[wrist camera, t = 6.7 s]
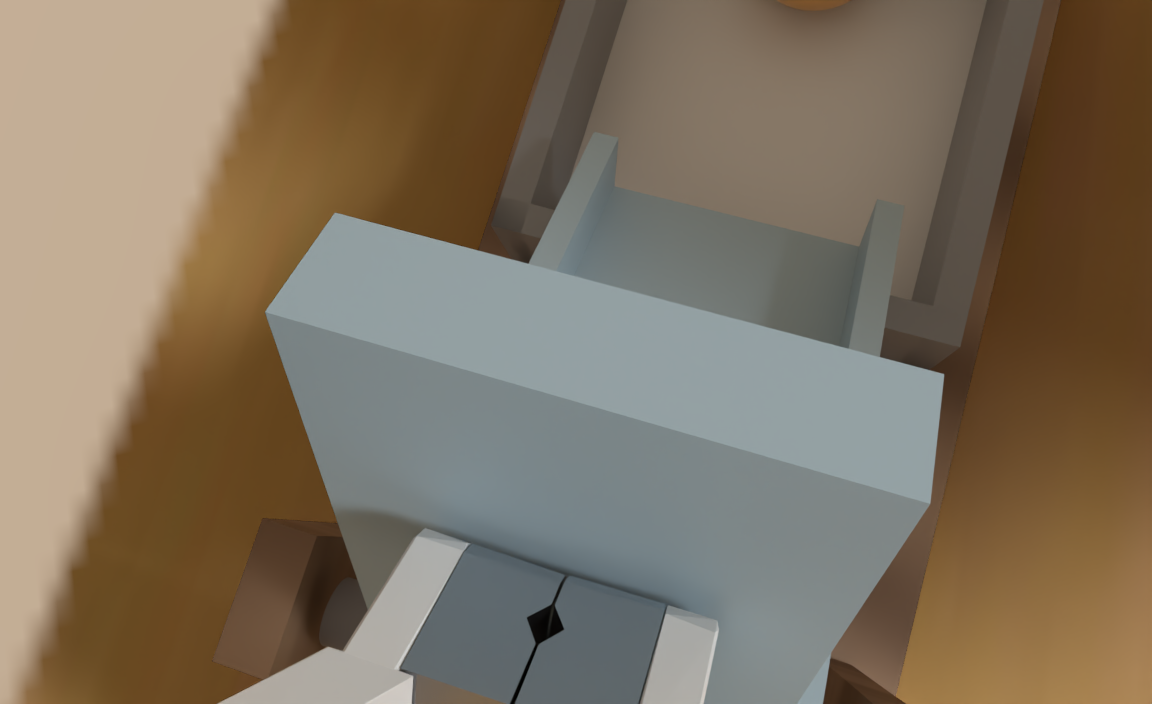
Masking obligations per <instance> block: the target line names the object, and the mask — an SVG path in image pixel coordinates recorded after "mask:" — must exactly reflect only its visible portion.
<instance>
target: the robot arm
mask: <svg viewBox="0 0 1152 704" xmlns="http://www.w3.org/2000/svg"><path fill="white" fill-rule="evenodd" d="M665 608H666V604H664V603H661V602H658V601H654V600H651V599H648V598H644V597H641V596H638V595H634V594H631V593H628V592H624V591H621V590H618V589H614V588H611V587H608V586H605V585H601V584H598V583H595V582H591V581H588V580H585V579H581V578H578V577H575V576H571V575H570V576H569V577H568V578H567V577H566V575H564V574H561V573H558V572H555V571H552V570H549V569H546V568H544V567H541V566H538V565H535V564H532V563H529V562H526V561H523V560H520V559H517V558H514V557H511V556H509V555H506V554H503V553H500V552H497V551H494V550H491V549H488V548H485V547H482V546H479V545H476V544H474V543H472V544H471V543H468V542H465V541H463V540H460V539H457V538H454V537H451V536H448V535H445V534H442V533H439V532H436V531H433V530H430V529H427V528H425V529H423V530H422V531H421V532H420V533H419V534H418V535H416V536H415V537H414V538H413V539H412V541H411V542H410V544H409V546H408V547H407V549H406V550H405V552H404V554H403V555H402V557H401V558H400V560H399V562H398V563H397V565H396V566H395V568H394V569H393V571H392V573H391V574H390V576H389V577H388V579H387V581H386V582H385V584H384V585H383V587H382V589H381V590H380V592H379V593H378V595H377V596H376V598H375V600H374V601H373V603H372V604H371V606H370V608H369V609H368V611H367V612H366V614H365V616H364V617H363V619H362V620H361V622H360V623H359V625H358V627H357V628H356V630H355V631H354V633H353V635H352V636H351V638H350V639H349V641H348V643H347V644H346V646H345V647H344V649H343V651H341V650H338V649H335V648H332V647H326V648H324V649H322V650H320V651H318V652H316V653H314V654H312V655H310V656H308V657H306V658H304V659H303V660H301V661H299V662H297V663H295V664H293V665H291V666H289V667H287V668H285V669H283V670H281V671H279V672H277V673H275V674H273V675H272V676H270V677H268V678H266V679H264V680H262V681H260V682H258V683H256V684H254V685H252V686H250V687H248V688H246V689H244V690H242V691H240V692H239V693H237V694H235V695H233V696H231V697H229V698H227V699H225V700H223V701H221V702H219V703H217V704H704V699H705V694H706V690H707V685H708V680H709V675H710V670H711V665H712V661H713V656H714V651H715V646H716V641H717V637H718V632H719V627H718V621H717V620H714V619H711V618H708V617H705V616H702V615H698V614H695V613H692V612H689V611H685V610H682V609H679V608H676V607H672V606H669V605H668V606H667V608H666V610H665ZM664 612H665V614H664ZM663 616H664V617H663ZM662 620H663V621H662ZM661 623H662V625H661ZM660 627H661V628H660ZM659 631H660V632H659ZM657 638H658V639H657ZM656 642H657V643H656ZM654 649H655V650H654ZM653 653H654V654H653ZM650 664H651V665H650ZM647 675H648V676H647Z"/></svg>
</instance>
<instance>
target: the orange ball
mask: <svg viewBox="0 0 1152 704" xmlns="http://www.w3.org/2000/svg"><path fill="white" fill-rule="evenodd" d="M777 1H778V2H780V3H782V4H784V5H786V6H789V7H792V8H795V9H799V10H805V11H821V10H828V9H832V8H835V7H838V6H841V5H843V4H846V3H847V2H849V1H851V0H777Z"/></svg>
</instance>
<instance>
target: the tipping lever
mask: <svg viewBox="0 0 1152 704" xmlns="http://www.w3.org/2000/svg"><path fill="white" fill-rule="evenodd" d="M618 139H619V138H618V137H614V136H610V135H605V134H601V133H597V132H594V133H593V135H592V137H591V139H590V141H589V143H588V145H587V147H586V149H585V151H584V153H583V155H582V157H581V159H580V161H579V163H578V165H577V167H576V169H575V171H574V173H573V175H572V177H571V179H570V181H569V183H568V185H567V187H566V189H565V191H564V193H563V195H562V197H561V199H560V201H559V203H558V205H557V207H556V209H555V211H554V213H553V215H552V217H551V219H550V221H549V223H548V225H547V227H546V229H545V231H544V234H543V236H542V238H541V240H540V242H539V244H538V246H537V248H536V250H535V252H534V254H533V256H532V258H531V260H530V262H529V264H527V263H523V262H519V261H516V260H512V259H508V258H504V257H501V256H497V255H493V254H489V253H485V252H482V251H478V250H474V249H470V248H467V247H463V246H459V245H455V244H452V243H448V242H444V241H440V240H436V239H433V238H429V237H425V236H421V235H418V234H414V233H410V232H406V231H403V230H399V229H395V228H391V227H387V226H384V225H380V224H376V223H372V222H369V221H365V220H361V219H357V218H354V217H350V216H346V215H342V214H338V213H334V215H333V216H332V218H331V219H330V220H329V222H328V223H327V225H326V226H325V227H324V229H323V230H322V232H321V233H320V235H319V236H318V237H317V239H316V240H315V242H314V243H313V244H312V246H311V247H310V249H309V250H308V252H307V253H306V254H305V256H304V257H303V259H302V260H301V262H300V263H299V264H298V266H297V267H296V269H295V270H294V271H293V273H292V274H291V276H290V277H289V279H288V280H287V281H286V283H285V284H284V286H283V287H282V288H281V290H280V291H279V293H278V294H277V296H276V297H275V298H274V300H273V301H272V303H271V304H270V305H269V307H268V308H267V310H266V311H265V314H266V317H267V320H268V322H269V325H270V328H271V331H272V334H273V337H274V340H275V343H276V346H277V348H278V351H279V354H280V357H281V360H282V363H283V366H284V369H285V372H286V375H287V377H288V380H289V383H290V386H291V389H292V392H293V395H294V398H295V401H296V403H297V406H298V409H299V412H300V415H301V418H302V421H303V424H304V427H305V429H306V432H307V435H308V438H309V441H310V444H311V447H312V450H313V453H314V456H315V458H316V461H317V464H318V467H319V470H320V473H321V476H322V479H323V482H324V484H325V487H326V490H327V493H328V496H329V499H330V502H331V505H332V508H333V510H334V513H335V516H336V519H337V522H338V525H339V528H340V531H341V534H342V536H343V539H344V542H345V545H346V548H347V551H348V554H349V557H350V560H351V563H352V565H353V568H354V571H355V574H356V577H357V580H356V579H353V578H350V577H347V578H345V579H343V580H342V581H341V582H340V583H339V585H338V586H337V587H336V589H335V590H334V592H333V594H332V596H331V597H330V600H329V602H328V604H327V606H326V609H325V611H324V614H323V617H322V621H321V625H320V631H319V640H320V644H321V645H322V646H325V647H332V648H335V649H338V650H341V651H343V649H344V647H345V646H346V644H347V643H348V641H349V639H350V638H351V636H352V635H353V633H354V631H355V630H356V628H357V627H358V625H359V623H360V622H361V620H362V619H363V617H364V616H365V614H366V612H367V611H368V609H369V608H370V606H371V604H372V603H373V601H374V600H375V598H376V596H377V595H378V593H379V592H380V590H381V589H382V587H383V585H384V584H385V582H386V581H387V579H388V577H389V576H390V574H391V573H392V571H393V569H394V568H395V566H396V565H397V563H398V562H399V560H400V558H401V557H402V555H403V554H404V552H405V550H406V549H407V547H408V546H409V544H410V542H411V541H412V539H413V538H414V537H415V536H416V535H418V534H419V533H420V532H421V531H422V530H423V529H425V528H427V529H430V530H433V531H436V532H439V533H442V534H445V535H448V536H451V537H454V538H457V539H460V540H463V541H465V542H468V543H471V544H472V543H474V544H476V545H479V546H482V547H485V548H488V549H491V550H494V551H497V552H500V553H503V554H506V555H509V556H511V557H514V558H517V559H520V560H523V561H526V562H529V563H532V564H535V565H538V566H541V567H544V568H546V569H549V570H552V571H555V572H558V573H561V574H564V575H566V577H567V578H568V577H569V576H570V575H571V576H575V577H578V578H581V579H585V580H588V581H591V582H595V583H598V584H601V585H605V586H608V587H611V588H614V589H618V590H621V591H624V592H628V593H631V594H634V595H638V596H641V597H644V598H648V599H651V600H654V601H658V602H661V603H664V604H666V608H667V606H668V605H669V606H672V607H676V608H679V609H682V610H685V611H689V612H692V613H695V614H698V615H702V616H705V617H708V618H711V619H714V620H717V621H718V627H719V632H718V637H717V641H716V646H715V651H714V656H713V661H712V665H711V670H710V675H709V680H708V685H707V690H706V694H705V699H704V704H823V700H824V694H825V688H826V682H827V676H828V669H829V663H830V657H831V652H832V651H833V649H834V648H835V646H836V645H837V643H838V642H839V640H840V639H841V637H842V636H843V634H844V633H845V631H846V630H847V628H848V627H849V625H850V624H851V622H852V621H853V619H854V618H855V616H856V615H857V613H858V612H859V610H860V609H861V607H862V606H863V604H864V603H865V601H866V600H867V598H868V597H869V595H870V594H871V592H872V591H873V589H874V588H875V586H876V585H877V583H878V582H879V580H880V579H881V577H882V576H883V574H884V573H885V571H886V570H887V568H888V567H889V565H890V564H891V562H892V561H893V559H894V558H895V556H896V555H897V553H898V552H899V550H900V549H901V547H902V546H903V544H904V543H905V541H906V540H907V538H908V537H909V535H910V534H911V532H912V531H913V529H914V528H915V526H916V525H917V523H918V522H919V520H920V519H921V517H922V516H923V514H924V513H925V511H926V510H927V508H928V507H929V505H930V502H931V493H932V483H933V474H934V465H935V456H936V446H937V437H938V428H939V419H940V409H941V400H942V391H943V382H944V374H942V373H938V372H934V371H930V370H927V369H923V368H919V367H915V366H912V365H908V364H904V363H900V362H896V361H893V360H889V359H885V358H881V357H880V352H881V346H882V340H883V334H884V328H885V322H886V316H887V309H888V303H889V297H890V291H891V285H892V279H893V273H894V267H895V261H896V255H897V248H898V242H899V236H900V230H901V224H902V218H903V212H904V205H900V204H896V203H892V202H887V201H883V200H879V199H877V201H876V204H875V206H874V209H873V212H872V214H871V217H870V220H869V222H868V225H867V227H866V230H865V233H864V235H863V238H862V241H861V243H860V246H855V245H851V244H847V243H843V242H838V241H834V240H830V239H826V238H822V237H818V236H814V235H810V234H806V233H802V232H798V231H794V230H790V229H786V228H782V227H778V226H774V225H770V224H766V223H761V222H757V221H753V220H749V219H745V218H741V217H737V216H733V215H729V214H725V213H721V212H717V211H713V210H709V209H705V208H701V207H697V206H693V205H689V204H684V203H680V202H676V201H672V200H668V199H664V198H660V197H656V196H652V195H648V194H644V193H640V192H636V191H632V190H628V189H624V188H620V187H616V186H614V185H615V174H616V162H617V151H618ZM666 608H665V610H666ZM664 614H665V612H664ZM663 617H664V616H663ZM662 621H663V620H662ZM661 625H662V623H661ZM660 628H661V627H660ZM659 632H660V631H659ZM657 639H658V638H657ZM656 643H657V642H656ZM654 650H655V649H654ZM653 654H654V653H653ZM650 665H651V664H650ZM647 676H648V675H647Z"/></svg>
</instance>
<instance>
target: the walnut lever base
mask: <svg viewBox="0 0 1152 704" xmlns="http://www.w3.org/2000/svg"><path fill="white" fill-rule="evenodd" d="M1060 3H1061V0H1044V1H1043V6H1042V10H1041V14H1040V18H1039V22H1038V26H1037V31H1036V35H1035V39H1034V43H1033V47H1032V51H1031V55H1030V60H1029V64H1028V68H1027V72H1026V76H1025V80H1024V84H1023V89H1022V93H1021V97H1020V101H1019V105H1018V109H1017V114H1016V118H1015V122H1014V126H1013V130H1012V134H1011V138H1010V143H1009V147H1008V151H1007V155H1006V159H1005V163H1004V167H1003V172H1002V176H1001V180H1000V184H999V188H998V192H997V197H996V201H995V205H994V209H993V213H992V217H991V221H990V226H989V230H988V234H987V238H986V242H985V246H984V251H983V255H982V259H981V263H980V267H979V271H978V275H977V280H976V284H975V288H974V292H973V296H972V300H971V304H970V309H969V313H968V317H967V321H966V325H965V329H964V334H963V338H962V342H961V346H960V348H959V349H957V350H956V351H954V352H953V353H952V354H950V355H949V356H948V357H946V358H945V359H944V360H942V361H941V362H940V363H938V364H937V365H936V366H934V367H933V368H931V369H930V371H934V372H938V373H942V374H944V382H943V391H942V400H941V409H940V419H939V428H938V437H937V446H936V456H935V465H934V474H933V483H932V493H931V502H930V505H929V507H928V508H927V510H926V511H925V513H924V514H923V516H922V517H921V519H920V520H919V522H918V523H917V525H916V526H915V528H914V529H913V531H912V532H911V534H910V535H909V537H908V538H907V540H906V541H905V543H904V544H903V546H902V547H901V549H900V550H899V552H898V553H897V555H896V556H895V558H894V559H893V561H892V562H891V564H890V565H889V567H888V568H887V570H886V571H885V573H884V574H883V576H882V577H881V579H880V580H879V582H878V583H877V585H876V586H875V588H874V589H873V591H872V592H871V594H870V595H869V597H868V598H867V600H866V601H865V603H864V604H863V606H862V607H861V609H860V610H859V612H858V613H857V615H856V616H855V618H854V619H853V621H852V622H851V624H850V625H849V627H848V628H847V630H846V631H845V633H844V634H843V636H842V637H841V639H840V640H839V642H838V643H837V645H836V646H835V648H834V649H833V651H832V652H831V657H830V663H829V669H828V676H827V682H826V688H825V694H824V700H823V704H905V703H904V702H902V701H901V700H900V699H898V698H897V697H896V693H897V689H898V685H899V680H900V676H901V672H902V668H903V664H904V659H905V655H906V651H907V647H908V643H909V638H910V634H911V630H912V626H913V622H914V617H915V613H916V609H917V605H918V600H919V596H920V592H921V588H922V584H923V579H924V575H925V571H926V567H927V563H928V558H929V554H930V550H931V546H932V542H933V537H934V533H935V529H936V525H937V521H938V516H939V512H940V508H941V504H942V499H943V495H944V491H945V487H946V483H947V478H948V474H949V470H950V466H951V462H952V457H953V453H954V449H955V445H956V441H957V436H958V432H959V428H960V424H961V420H962V415H963V411H964V407H965V403H966V398H967V394H968V390H969V386H970V382H971V377H972V373H973V369H974V365H975V361H976V356H977V352H978V348H979V344H980V340H981V335H982V331H983V327H984V323H985V319H986V314H987V310H988V306H989V302H990V297H991V293H992V289H993V285H994V281H995V276H996V272H997V268H998V264H999V260H1000V255H1001V251H1002V247H1003V243H1004V239H1005V234H1006V230H1007V226H1008V222H1009V218H1010V213H1011V209H1012V205H1013V201H1014V196H1015V192H1016V188H1017V184H1018V180H1019V175H1020V171H1021V167H1022V163H1023V159H1024V154H1025V150H1026V146H1027V142H1028V138H1029V133H1030V129H1031V125H1032V121H1033V117H1034V112H1035V108H1036V104H1037V100H1038V95H1039V91H1040V87H1041V83H1042V79H1043V74H1044V70H1045V66H1046V62H1047V58H1048V53H1049V49H1050V45H1051V41H1052V37H1053V32H1054V28H1055V24H1056V20H1057V16H1058V11H1059V7H1060ZM564 4H565V0H561V2H560V5H559V8H558V11H557V14H556V17H555V20H554V24H553V27H552V30H551V33H550V36H549V39H548V42H547V45H546V48H545V51H544V54H543V57H542V60H541V63H540V66H539V69H538V72H537V75H536V78H535V81H534V84H533V87H532V90H531V93H530V96H529V99H528V102H527V105H526V108H525V111H524V114H523V117H522V120H521V123H520V126H519V129H518V132H517V135H516V138H515V141H514V144H513V147H512V150H511V153H510V156H509V159H508V162H507V165H506V168H505V171H504V174H503V177H502V180H501V183H500V186H499V189H498V192H497V195H496V198H495V201H494V204H493V207H492V210H491V213H490V216H489V219H488V222H487V225H486V228H485V231H484V234H483V237H482V240H481V243H480V246H479V249H478V251H482V252H485V253H489V254H493V255H497V256H501V257H504V258H508V259H511V257H510V256H509V254H508V252H507V251H506V249H505V247H504V246H503V244H502V243H501V241H500V239H499V238H498V236H497V234H496V233H495V231H494V230H493V228H492V226H491V224H492V221H493V218H494V215H495V212H496V209H497V206H498V203H499V200H500V197H501V194H502V191H503V187H504V184H505V181H506V178H507V175H508V172H509V169H510V166H511V163H512V160H513V157H514V154H515V151H516V148H517V145H518V142H519V139H520V136H521V133H522V130H523V127H524V124H525V121H526V118H527V115H528V112H529V109H530V106H531V103H532V100H533V97H534V94H535V91H536V88H537V85H538V82H539V79H540V76H541V73H542V70H543V67H544V64H545V61H546V58H547V55H548V52H549V49H550V46H551V43H552V40H553V37H554V34H555V31H556V28H557V25H558V22H559V19H560V16H561V13H562V10H563V7H564ZM347 577H350V578H353V579H356V580H357V577H356V574H355V571H354V568H353V565H352V563H351V560H350V557H349V554H348V551H347V548H346V545H345V542H344V539H343V536H342V534H341V531H340V528H339V525H338V523H326V522H312V521H297V520H283V519H268V518H263V519H262V522H261V524H260V527H259V530H258V533H257V536H256V539H255V541H254V544H253V547H252V550H251V553H250V556H249V558H248V561H247V564H246V567H245V570H244V572H243V575H242V578H241V581H240V584H239V587H238V589H237V592H236V595H235V598H234V601H233V604H232V606H231V609H230V612H229V615H228V618H227V620H226V623H225V626H224V629H223V632H222V635H221V637H220V640H219V643H218V646H217V649H216V652H215V654H214V657H213V660H212V662H215V663H218V664H221V665H224V666H226V667H229V668H232V669H235V670H237V671H240V672H243V673H246V674H249V675H251V676H254V677H257V678H260V679H262V680H264V679H266V678H268V677H270V676H272V675H273V674H275V673H277V672H279V671H281V670H283V669H285V668H287V667H289V666H291V665H293V664H295V663H297V662H299V661H301V660H303V659H304V658H306V657H308V656H310V655H312V654H314V653H316V652H318V651H320V650H322V649H324V648H326V647H325V646H322V645H321V644H320V640H319V631H320V625H321V621H322V617H323V614H324V611H325V609H326V606H327V604H328V602H329V600H330V597H331V596H332V594H333V592H334V590H335V589H336V587H337V586H338V585H339V583H340V582H341V581H342V580H343V579H345V578H347Z"/></svg>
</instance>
